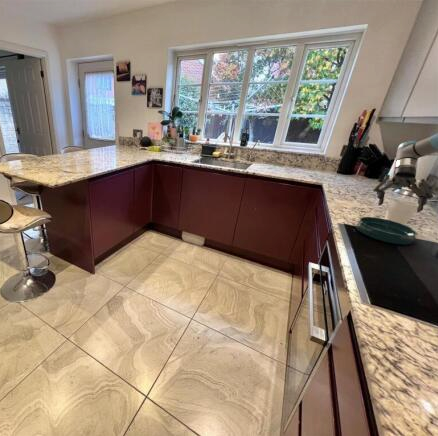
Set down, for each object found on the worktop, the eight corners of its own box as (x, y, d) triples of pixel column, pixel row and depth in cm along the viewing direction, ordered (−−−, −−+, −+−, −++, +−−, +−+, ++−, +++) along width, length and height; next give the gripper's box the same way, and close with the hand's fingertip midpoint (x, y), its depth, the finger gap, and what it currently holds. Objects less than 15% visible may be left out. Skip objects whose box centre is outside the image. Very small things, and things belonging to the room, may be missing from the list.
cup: (410, 231, 105) (424, 206, 100) (385, 227, 108) (398, 203, 103) (398, 223, 113) (411, 200, 108) (376, 219, 116) (387, 197, 111)
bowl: (418, 239, 98) (424, 230, 96) (401, 249, 90) (407, 239, 88) (365, 222, 112) (370, 214, 110) (347, 229, 104) (351, 220, 102)
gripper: (435, 178, 111) (431, 217, 106) (368, 170, 123) (362, 205, 118) (447, 169, 105) (443, 210, 100) (375, 162, 117) (369, 198, 111)
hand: (399, 207), depth 109 cm, fingers open, 13 cm apart
